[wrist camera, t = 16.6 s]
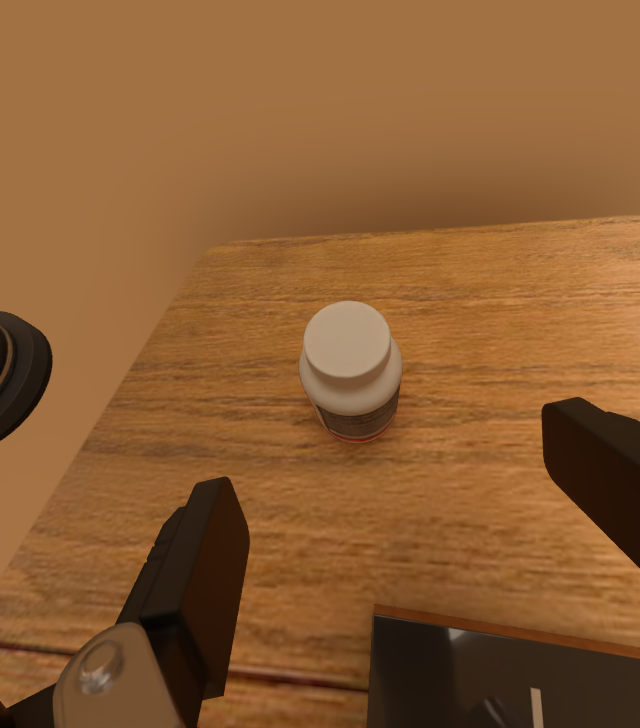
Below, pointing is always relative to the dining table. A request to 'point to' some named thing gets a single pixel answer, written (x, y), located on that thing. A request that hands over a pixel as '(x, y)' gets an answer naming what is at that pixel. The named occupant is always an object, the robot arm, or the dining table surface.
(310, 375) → the pill bottle
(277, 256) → the dining table surface
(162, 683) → the robot arm
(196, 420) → the dining table surface
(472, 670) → the black dial box
